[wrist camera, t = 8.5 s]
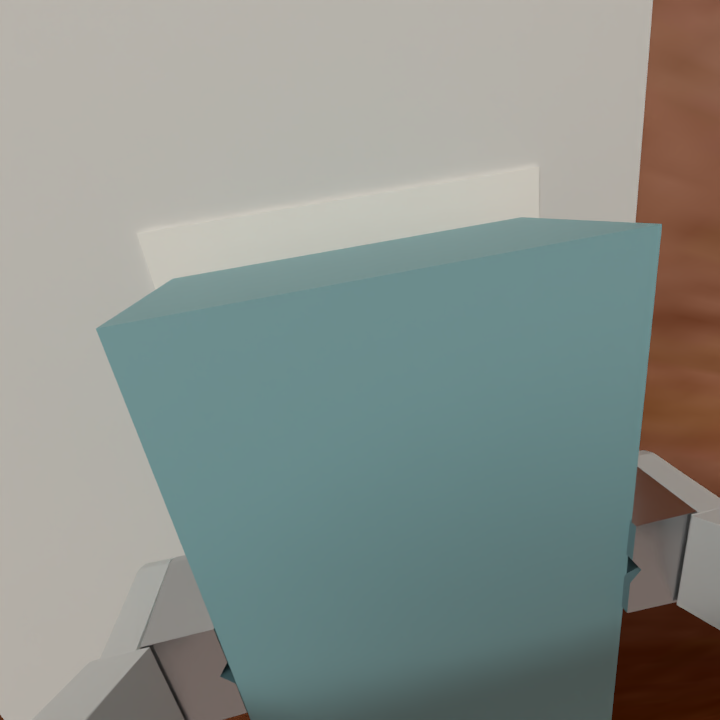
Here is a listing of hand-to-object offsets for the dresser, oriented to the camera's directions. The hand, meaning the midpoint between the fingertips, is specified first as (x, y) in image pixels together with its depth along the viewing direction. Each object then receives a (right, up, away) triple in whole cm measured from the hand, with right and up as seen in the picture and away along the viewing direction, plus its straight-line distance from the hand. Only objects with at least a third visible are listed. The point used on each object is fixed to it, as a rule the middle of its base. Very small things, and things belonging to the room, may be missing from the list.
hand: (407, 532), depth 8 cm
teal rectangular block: (0, 0, +1) cm, 1 cm away
